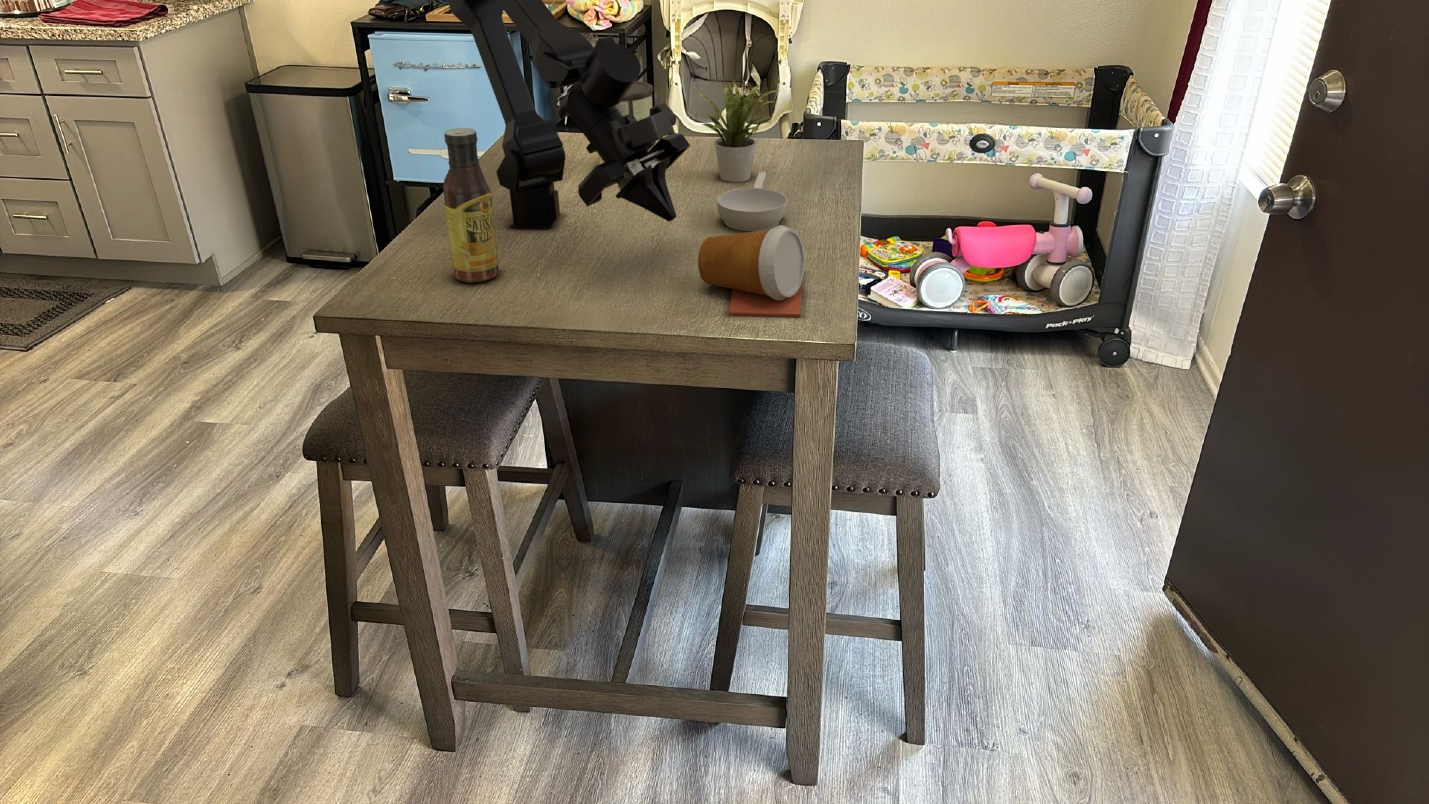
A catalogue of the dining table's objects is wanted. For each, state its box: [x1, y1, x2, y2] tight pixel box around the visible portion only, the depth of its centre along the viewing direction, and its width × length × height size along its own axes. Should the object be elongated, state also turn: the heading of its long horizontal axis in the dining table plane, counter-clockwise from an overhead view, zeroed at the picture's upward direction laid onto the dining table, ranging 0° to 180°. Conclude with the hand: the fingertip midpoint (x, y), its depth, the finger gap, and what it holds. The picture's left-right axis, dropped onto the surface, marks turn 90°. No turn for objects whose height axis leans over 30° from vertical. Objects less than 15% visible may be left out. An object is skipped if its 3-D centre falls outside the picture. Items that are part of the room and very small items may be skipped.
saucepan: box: [716, 171, 788, 232], centre depth 156 cm, size 11×18×4 cm, turn 170°
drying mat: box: [728, 284, 802, 318], centre depth 131 cm, size 9×14×1 cm, turn 175°
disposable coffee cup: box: [697, 224, 806, 300], centre depth 129 cm, size 10×10×12 cm
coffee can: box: [598, 80, 656, 165], centre depth 173 cm, size 10×10×14 cm
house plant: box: [695, 80, 782, 183], centre depth 167 cm, size 14×14×16 cm
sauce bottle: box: [442, 127, 499, 284], centre depth 131 cm, size 6×6×20 cm
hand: (673, 219), depth 132 cm, fingers closed
